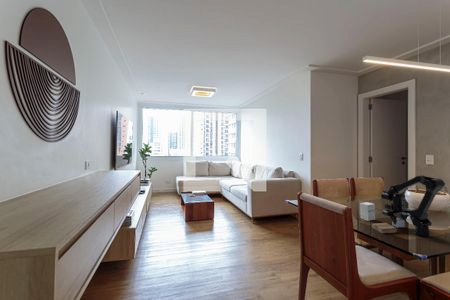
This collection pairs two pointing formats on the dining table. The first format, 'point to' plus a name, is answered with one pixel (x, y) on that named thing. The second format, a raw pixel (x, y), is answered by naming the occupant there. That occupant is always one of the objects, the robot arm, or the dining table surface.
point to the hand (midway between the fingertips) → (398, 224)
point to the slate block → (399, 222)
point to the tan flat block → (384, 228)
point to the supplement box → (367, 211)
